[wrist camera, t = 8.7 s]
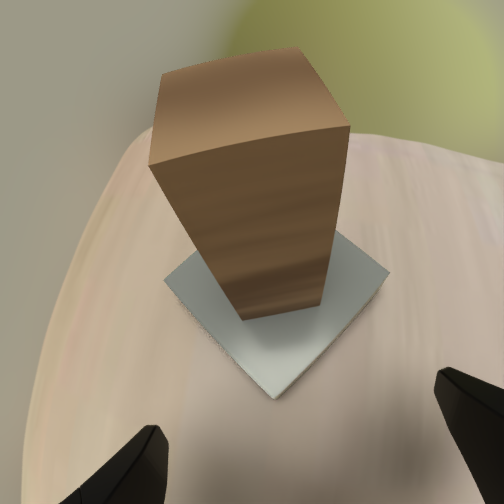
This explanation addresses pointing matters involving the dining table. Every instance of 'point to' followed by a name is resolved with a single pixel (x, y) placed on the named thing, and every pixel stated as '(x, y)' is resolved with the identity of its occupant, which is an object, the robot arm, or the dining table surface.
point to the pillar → (254, 174)
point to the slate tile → (281, 316)
